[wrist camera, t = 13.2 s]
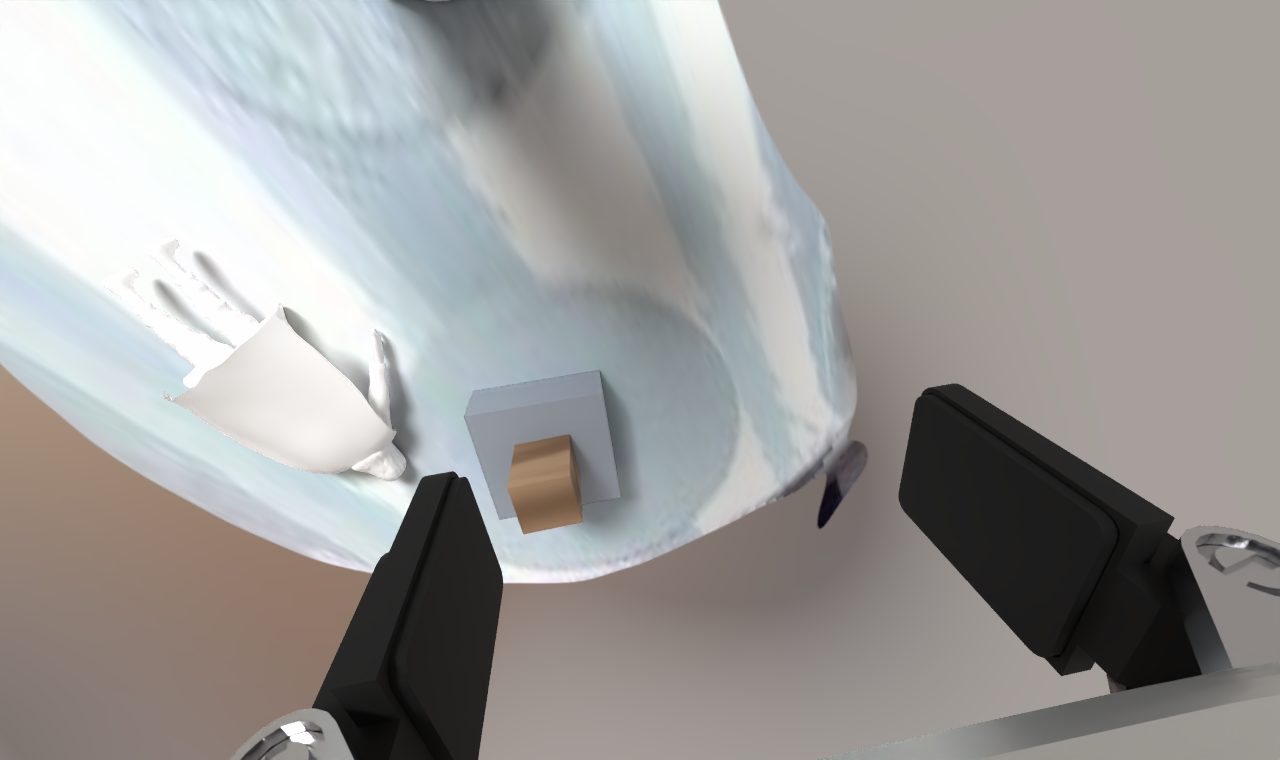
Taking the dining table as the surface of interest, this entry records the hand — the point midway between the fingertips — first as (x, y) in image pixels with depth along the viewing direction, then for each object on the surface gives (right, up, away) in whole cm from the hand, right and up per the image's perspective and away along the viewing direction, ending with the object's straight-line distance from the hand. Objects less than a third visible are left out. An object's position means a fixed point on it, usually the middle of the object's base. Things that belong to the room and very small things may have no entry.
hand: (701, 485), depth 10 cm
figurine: (-31, +3, +32) cm, 45 cm away
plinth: (-10, -3, +38) cm, 40 cm away
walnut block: (-10, -5, +34) cm, 35 cm away
